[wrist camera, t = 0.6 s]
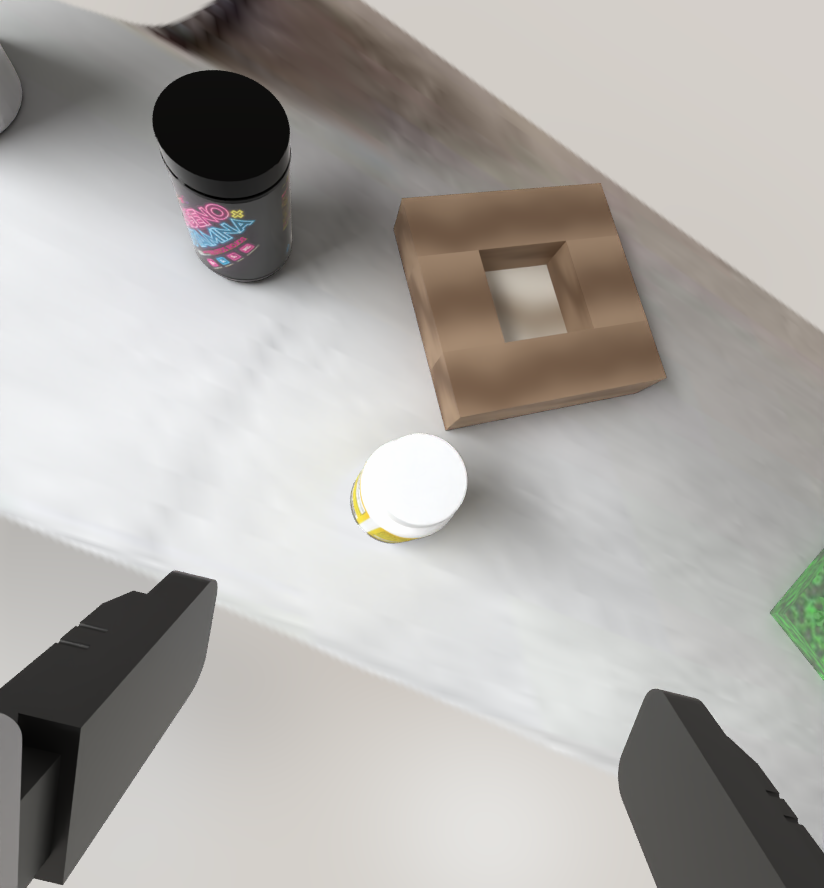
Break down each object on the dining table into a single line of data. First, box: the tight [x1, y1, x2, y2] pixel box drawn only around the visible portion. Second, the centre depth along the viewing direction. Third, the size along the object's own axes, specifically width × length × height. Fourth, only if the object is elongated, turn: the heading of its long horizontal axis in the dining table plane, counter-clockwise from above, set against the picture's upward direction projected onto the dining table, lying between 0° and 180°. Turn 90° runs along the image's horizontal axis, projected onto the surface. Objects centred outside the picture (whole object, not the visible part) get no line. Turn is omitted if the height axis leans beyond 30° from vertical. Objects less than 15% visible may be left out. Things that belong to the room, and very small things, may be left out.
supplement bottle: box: [350, 433, 468, 543], centre depth 30 cm, size 6×6×10 cm
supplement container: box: [152, 70, 292, 282], centre depth 32 cm, size 7×7×10 cm
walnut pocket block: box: [394, 183, 667, 430], centre depth 38 cm, size 16×16×4 cm
